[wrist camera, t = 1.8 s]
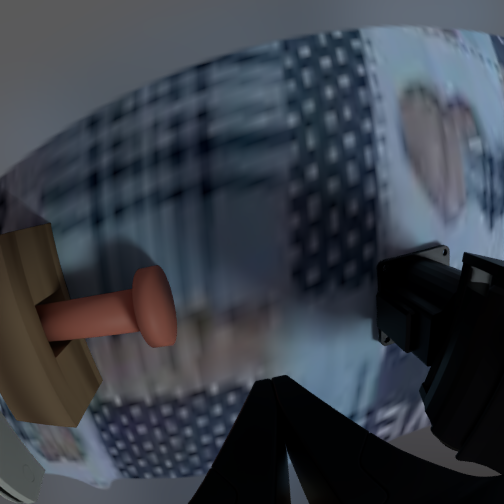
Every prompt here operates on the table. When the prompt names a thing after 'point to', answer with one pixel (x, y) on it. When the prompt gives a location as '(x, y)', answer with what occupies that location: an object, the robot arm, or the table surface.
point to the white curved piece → (17, 468)
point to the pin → (117, 312)
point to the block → (39, 336)
